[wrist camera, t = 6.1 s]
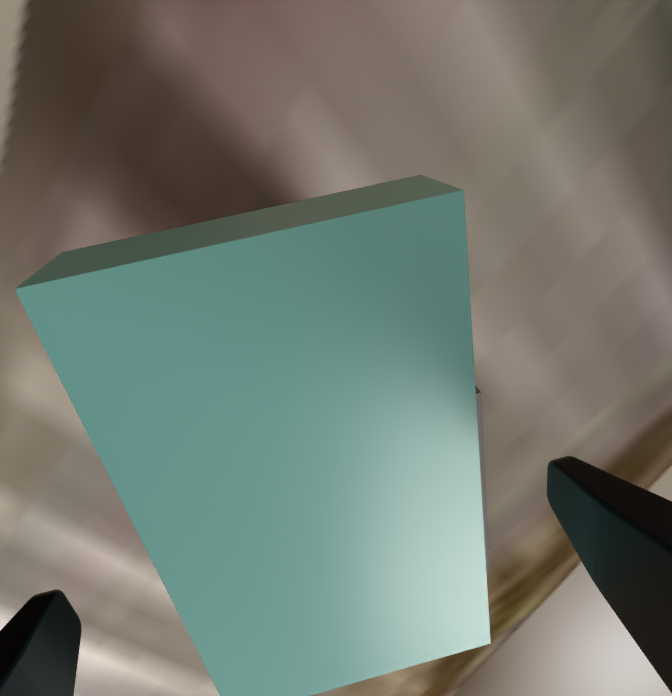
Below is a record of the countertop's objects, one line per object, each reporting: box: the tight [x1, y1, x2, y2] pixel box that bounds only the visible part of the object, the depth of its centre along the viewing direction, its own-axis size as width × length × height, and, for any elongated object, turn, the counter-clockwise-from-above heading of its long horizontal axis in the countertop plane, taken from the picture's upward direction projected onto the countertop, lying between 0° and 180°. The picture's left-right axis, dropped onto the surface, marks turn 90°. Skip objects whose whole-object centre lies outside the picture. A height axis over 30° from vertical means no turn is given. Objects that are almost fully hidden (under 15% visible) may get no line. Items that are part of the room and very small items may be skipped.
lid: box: [15, 175, 490, 696], centre depth 10 cm, size 6×11×2 cm, turn 10°
